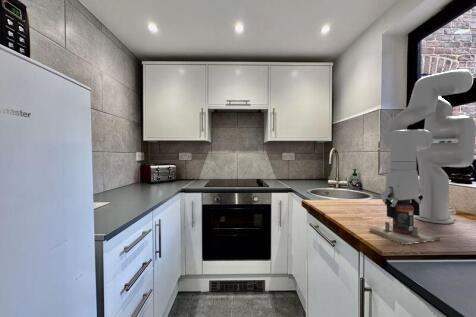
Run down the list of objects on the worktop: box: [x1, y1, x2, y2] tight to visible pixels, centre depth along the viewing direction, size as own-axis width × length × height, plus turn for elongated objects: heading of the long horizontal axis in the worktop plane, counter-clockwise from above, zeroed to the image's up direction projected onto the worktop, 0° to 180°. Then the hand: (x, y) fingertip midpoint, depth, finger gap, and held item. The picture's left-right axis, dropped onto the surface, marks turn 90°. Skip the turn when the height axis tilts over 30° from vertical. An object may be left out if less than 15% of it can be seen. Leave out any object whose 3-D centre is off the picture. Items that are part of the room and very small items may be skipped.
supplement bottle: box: [392, 200, 415, 234], centre depth 82 cm, size 6×6×11 cm
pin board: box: [369, 221, 441, 245], centre depth 82 cm, size 14×14×4 cm
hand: (403, 216), depth 82 cm, fingers open, 9 cm apart
